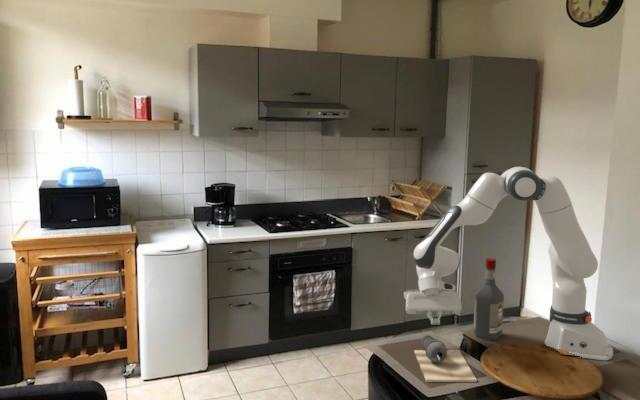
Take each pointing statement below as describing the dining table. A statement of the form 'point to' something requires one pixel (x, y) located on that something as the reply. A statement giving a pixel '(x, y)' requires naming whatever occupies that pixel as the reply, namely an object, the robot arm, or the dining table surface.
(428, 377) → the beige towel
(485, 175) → the robot arm
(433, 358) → the beverage cup
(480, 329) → the liquor
